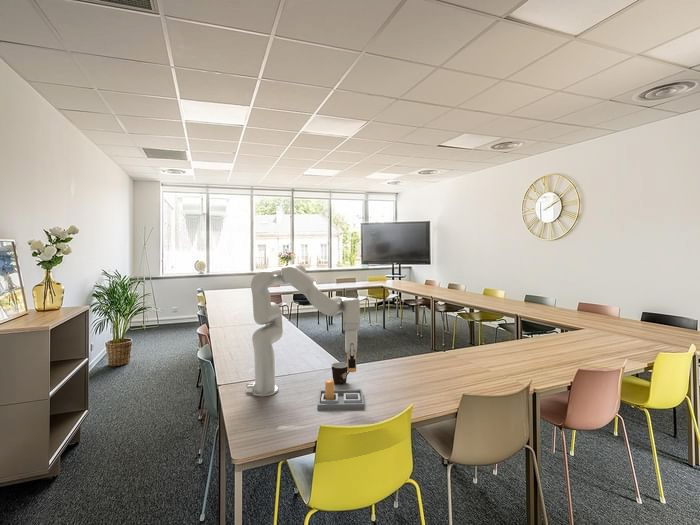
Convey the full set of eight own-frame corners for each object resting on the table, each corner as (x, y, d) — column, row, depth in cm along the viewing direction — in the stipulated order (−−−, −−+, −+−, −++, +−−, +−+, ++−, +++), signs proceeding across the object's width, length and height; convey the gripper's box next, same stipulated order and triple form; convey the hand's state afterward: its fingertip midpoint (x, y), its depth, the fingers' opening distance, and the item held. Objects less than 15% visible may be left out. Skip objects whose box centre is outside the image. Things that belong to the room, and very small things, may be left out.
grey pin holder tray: (317, 411, 145) (317, 404, 145) (319, 396, 160) (319, 390, 160) (364, 410, 146) (364, 404, 145) (361, 395, 160) (361, 389, 160)
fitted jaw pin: (325, 403, 150) (324, 383, 150) (325, 399, 154) (325, 379, 154) (334, 403, 151) (333, 383, 150) (334, 399, 155) (334, 379, 154)
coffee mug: (333, 388, 169) (333, 368, 169) (329, 381, 177) (329, 363, 177) (355, 385, 172) (355, 366, 172) (351, 379, 180) (351, 360, 180)
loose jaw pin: (347, 372, 150) (347, 352, 150) (347, 369, 154) (347, 349, 154) (356, 372, 150) (356, 352, 150) (356, 369, 154) (356, 349, 154)
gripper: (342, 321, 160) (343, 360, 160) (343, 330, 143) (343, 373, 144) (358, 321, 160) (359, 359, 161) (361, 330, 143) (361, 372, 144)
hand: (351, 365), depth 152 cm, fingers closed on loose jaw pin, 4 cm apart
